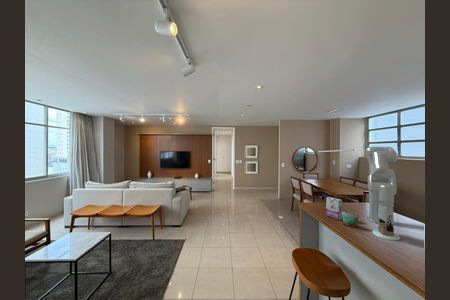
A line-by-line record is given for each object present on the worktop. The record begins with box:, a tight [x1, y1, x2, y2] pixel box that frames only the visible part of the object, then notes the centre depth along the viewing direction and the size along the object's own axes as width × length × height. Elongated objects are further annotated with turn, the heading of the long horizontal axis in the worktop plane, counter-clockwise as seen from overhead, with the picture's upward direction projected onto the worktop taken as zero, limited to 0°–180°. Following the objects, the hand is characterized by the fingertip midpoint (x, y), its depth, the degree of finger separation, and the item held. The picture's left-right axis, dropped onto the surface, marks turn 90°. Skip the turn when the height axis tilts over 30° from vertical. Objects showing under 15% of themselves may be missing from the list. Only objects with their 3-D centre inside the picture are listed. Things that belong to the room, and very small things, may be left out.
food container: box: [341, 209, 360, 229], centre depth 143 cm, size 12×6×10 cm, turn 23°
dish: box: [372, 228, 401, 242], centre depth 127 cm, size 14×14×1 cm
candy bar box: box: [325, 196, 343, 221], centre depth 159 cm, size 11×5×16 cm, turn 30°
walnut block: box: [377, 223, 395, 236], centre depth 127 cm, size 6×6×6 cm
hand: (385, 228), depth 127 cm, fingers open, 9 cm apart
